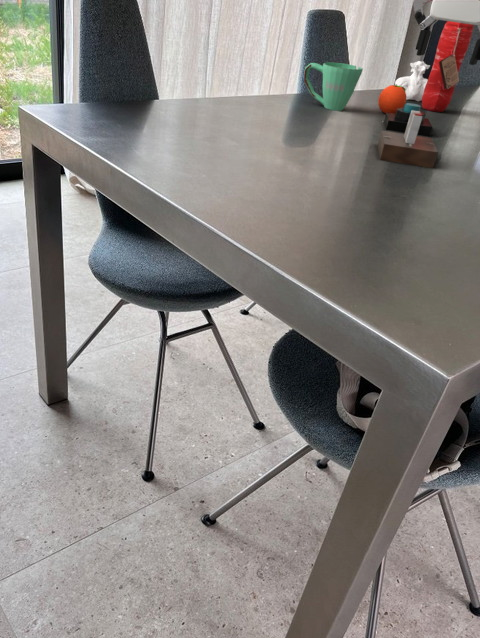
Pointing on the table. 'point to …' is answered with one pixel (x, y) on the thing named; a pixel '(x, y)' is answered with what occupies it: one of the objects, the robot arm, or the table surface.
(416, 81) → the bust
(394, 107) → the clementine
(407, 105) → the button
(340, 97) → the mug
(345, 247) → the table surface
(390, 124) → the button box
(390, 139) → the block
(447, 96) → the red bag
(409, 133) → the silver flat panel
